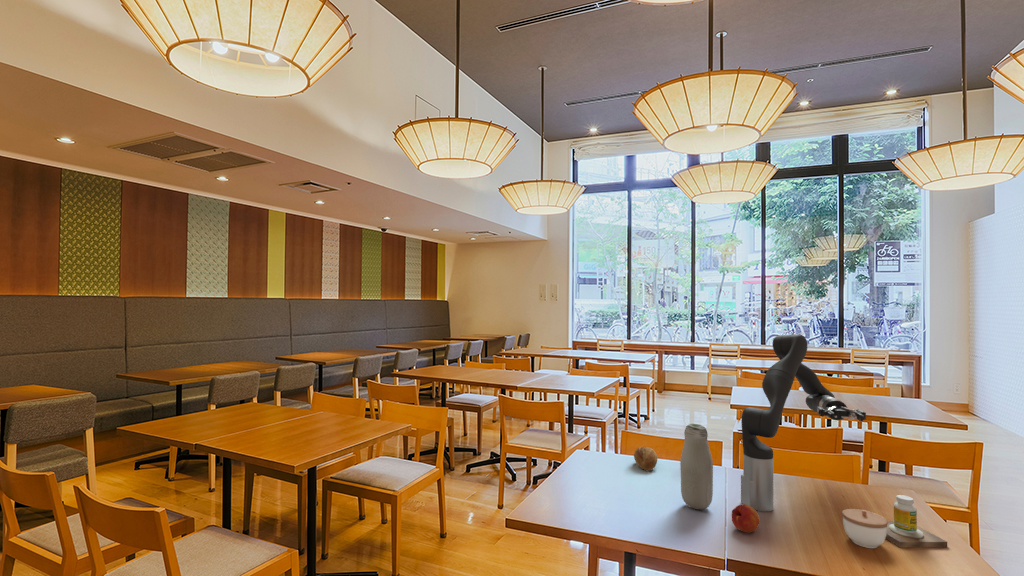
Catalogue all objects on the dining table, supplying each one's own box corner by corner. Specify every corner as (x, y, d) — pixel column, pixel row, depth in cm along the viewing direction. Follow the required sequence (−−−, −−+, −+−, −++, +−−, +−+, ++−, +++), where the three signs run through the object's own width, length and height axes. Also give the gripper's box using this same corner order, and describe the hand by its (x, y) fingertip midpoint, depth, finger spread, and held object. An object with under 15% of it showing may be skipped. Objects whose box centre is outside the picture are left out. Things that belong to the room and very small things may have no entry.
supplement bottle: (897, 524, 148) (897, 492, 149) (919, 531, 144) (919, 498, 144) (890, 528, 145) (890, 496, 146) (912, 535, 141) (912, 502, 141)
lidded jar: (833, 534, 145) (833, 503, 146) (866, 533, 146) (866, 502, 146) (862, 553, 135) (862, 519, 135) (897, 552, 135) (897, 518, 136)
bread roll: (635, 471, 198) (635, 452, 198) (632, 460, 213) (633, 442, 213) (659, 473, 196) (659, 454, 196) (655, 462, 211) (655, 443, 211)
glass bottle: (716, 507, 164) (716, 424, 165) (705, 516, 156) (705, 430, 157) (688, 498, 171) (688, 419, 172) (675, 507, 163) (676, 424, 164)
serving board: (900, 547, 138) (900, 539, 138) (865, 526, 151) (865, 519, 151) (947, 547, 139) (947, 539, 139) (908, 526, 152) (908, 519, 152)
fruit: (726, 524, 151) (726, 499, 151) (752, 525, 151) (752, 499, 151) (737, 537, 143) (737, 509, 143) (765, 537, 143) (764, 510, 143)
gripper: (811, 396, 187) (824, 405, 172) (854, 399, 183) (871, 408, 167) (811, 416, 187) (824, 426, 172) (854, 419, 183) (871, 429, 167)
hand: (847, 417), depth 169 cm, fingers open, 8 cm apart
